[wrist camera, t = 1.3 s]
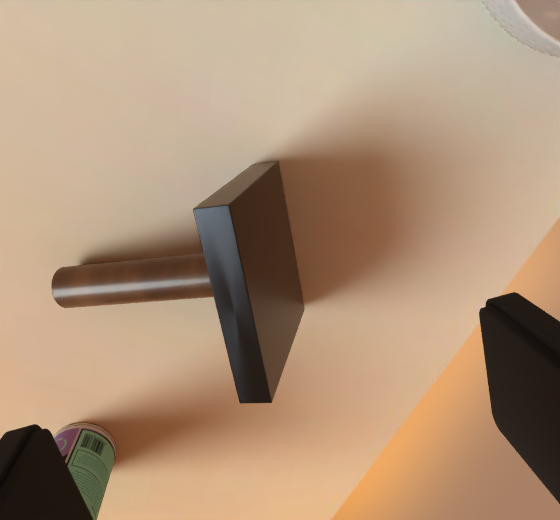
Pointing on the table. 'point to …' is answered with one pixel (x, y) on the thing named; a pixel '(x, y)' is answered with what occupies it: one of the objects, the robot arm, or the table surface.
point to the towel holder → (220, 278)
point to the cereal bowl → (530, 22)
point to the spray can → (88, 460)
